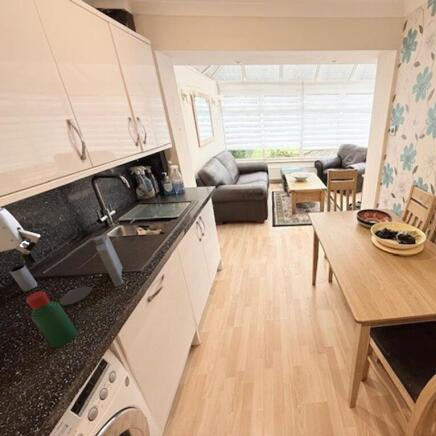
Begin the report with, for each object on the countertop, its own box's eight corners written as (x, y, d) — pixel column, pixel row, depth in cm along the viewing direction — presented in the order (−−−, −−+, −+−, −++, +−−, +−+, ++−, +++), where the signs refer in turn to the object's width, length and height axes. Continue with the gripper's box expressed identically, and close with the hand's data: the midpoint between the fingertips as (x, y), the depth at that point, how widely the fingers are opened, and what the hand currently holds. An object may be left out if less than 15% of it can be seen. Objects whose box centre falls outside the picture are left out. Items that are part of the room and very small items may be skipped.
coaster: (53, 305, 90) (52, 304, 90) (76, 287, 99) (76, 286, 99) (76, 306, 89) (75, 305, 89) (98, 287, 98) (97, 286, 98)
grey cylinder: (28, 285, 102) (15, 265, 98) (40, 283, 103) (27, 264, 98) (20, 292, 98) (5, 272, 94) (32, 290, 99) (18, 270, 94)
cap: (27, 308, 68) (21, 300, 67) (42, 298, 72) (36, 290, 71) (39, 309, 68) (34, 301, 67) (53, 298, 71) (48, 291, 70)
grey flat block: (123, 284, 99) (104, 243, 90) (112, 288, 97) (91, 247, 88) (122, 266, 111) (105, 228, 102) (112, 269, 109) (93, 231, 100)
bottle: (45, 346, 74) (13, 304, 66) (65, 329, 80) (38, 288, 72) (64, 347, 73) (33, 305, 66) (82, 329, 79) (56, 289, 71)
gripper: (-94, 223, 51) (-39, 287, 58) (13, 205, 57) (51, 266, 64) (-65, 210, 57) (-18, 270, 65) (29, 196, 63) (61, 252, 71)
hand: (16, 268), depth 64 cm, fingers open, 7 cm apart
